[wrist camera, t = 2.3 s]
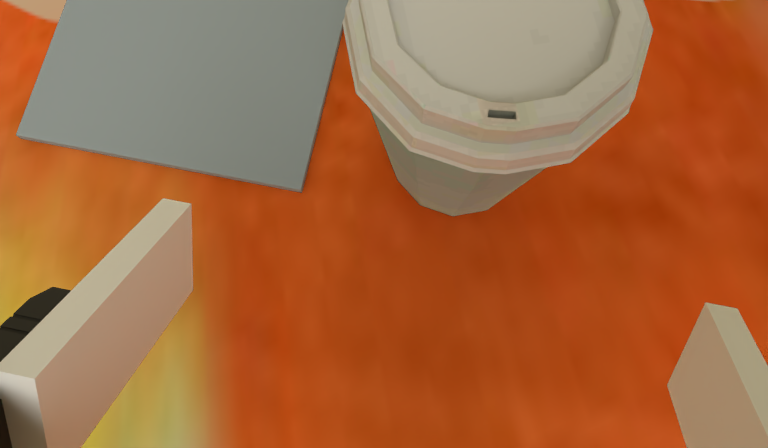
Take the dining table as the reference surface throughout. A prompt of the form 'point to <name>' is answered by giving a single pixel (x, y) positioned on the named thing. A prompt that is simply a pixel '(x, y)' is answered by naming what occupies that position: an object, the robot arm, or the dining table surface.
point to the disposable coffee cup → (492, 87)
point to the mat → (190, 84)
